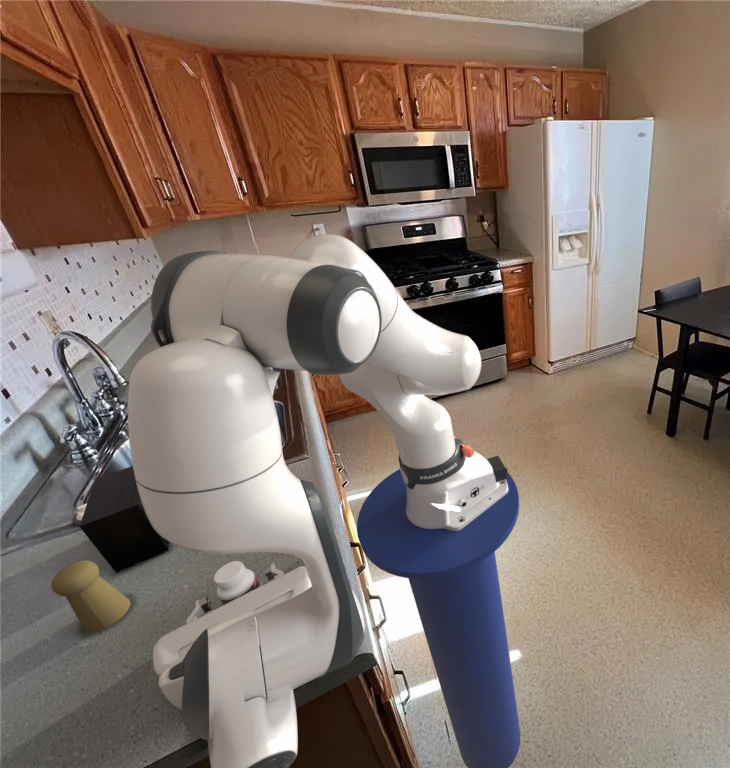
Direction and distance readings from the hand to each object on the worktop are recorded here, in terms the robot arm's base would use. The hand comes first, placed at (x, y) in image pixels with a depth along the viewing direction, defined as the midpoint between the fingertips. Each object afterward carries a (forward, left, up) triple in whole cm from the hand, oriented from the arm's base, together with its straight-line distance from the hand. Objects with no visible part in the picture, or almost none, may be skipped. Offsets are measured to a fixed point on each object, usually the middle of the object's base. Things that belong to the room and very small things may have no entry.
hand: (237, 583), depth 66 cm
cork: (+20, -13, -5) cm, 25 cm away
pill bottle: (0, +1, -5) cm, 5 cm away
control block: (+16, -31, -5) cm, 35 cm away
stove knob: (+26, -47, -5) cm, 54 cm away
